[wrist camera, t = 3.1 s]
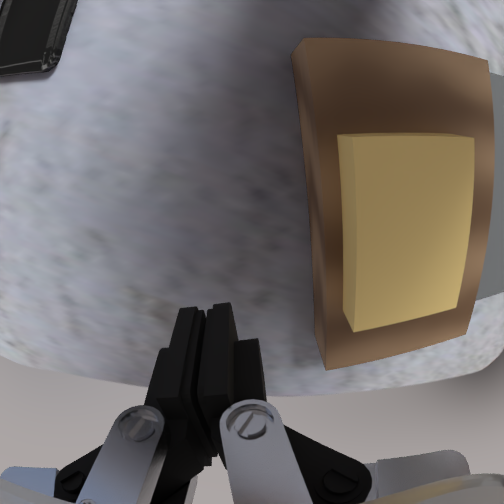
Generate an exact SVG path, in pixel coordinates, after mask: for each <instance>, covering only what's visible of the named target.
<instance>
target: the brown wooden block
mask: <svg viewBox="0 0 504 504" xmlns="http://www.w3.org/2000/svg"><path fill="white" fill-rule="evenodd" d="M291 60H292V66H293V73H294V80H295V87H296V94H297V102H298V110H299V118H300V126H301V135H302V144H303V153H304V163H305V173H306V184H307V196H308V208H309V221H310V235H311V251H312V270H313V292H314V321H315V338H316V341H317V344H318V347H319V350H320V353H321V357H322V360H323V363H324V366H325V370H326V371H327V370H332V369H337V368H342V367H347V366H352V365H357V364H361V363H366V362H370V361H375V360H379V359H383V358H387V357H391V356H395V355H399V354H402V353H406V352H410V351H413V350H417V349H420V348H424V347H427V346H431V345H434V344H437V343H440V342H444V341H447V340H450V339H453V338H456V337H459V336H462V335H465V334H466V332H467V329H468V325H469V322H470V319H471V315H472V312H473V308H474V304H475V300H476V296H477V292H478V288H479V284H480V279H481V274H482V270H483V264H484V259H485V254H486V248H487V242H488V235H489V228H490V220H491V211H492V200H493V187H494V164H495V135H494V113H493V99H492V89H491V81H490V73H489V66H488V60H484V59H481V58H477V57H473V56H469V55H465V54H461V53H457V52H452V51H448V50H443V49H438V48H432V47H427V46H421V45H414V44H407V43H400V42H391V41H381V40H369V39H353V38H303V40H302V41H301V42H300V43H299V45H298V46H297V47H296V48H295V50H294V51H293V52H292V54H291ZM362 133H444V134H455V135H461V136H466V137H472V138H474V152H475V156H474V190H473V204H472V216H471V225H470V234H469V242H468V249H467V255H466V261H465V267H464V273H463V278H462V283H461V288H460V293H459V297H458V302H457V306H456V308H453V309H450V310H446V311H443V312H439V313H435V314H431V315H428V316H424V317H420V318H416V319H412V320H408V321H404V322H399V323H395V324H391V325H386V326H382V327H377V328H373V329H368V330H363V331H358V332H353V330H352V328H351V326H350V324H349V322H348V320H347V318H346V316H345V314H344V312H343V224H342V199H341V181H340V166H339V153H338V141H337V135H341V134H362Z"/></svg>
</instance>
